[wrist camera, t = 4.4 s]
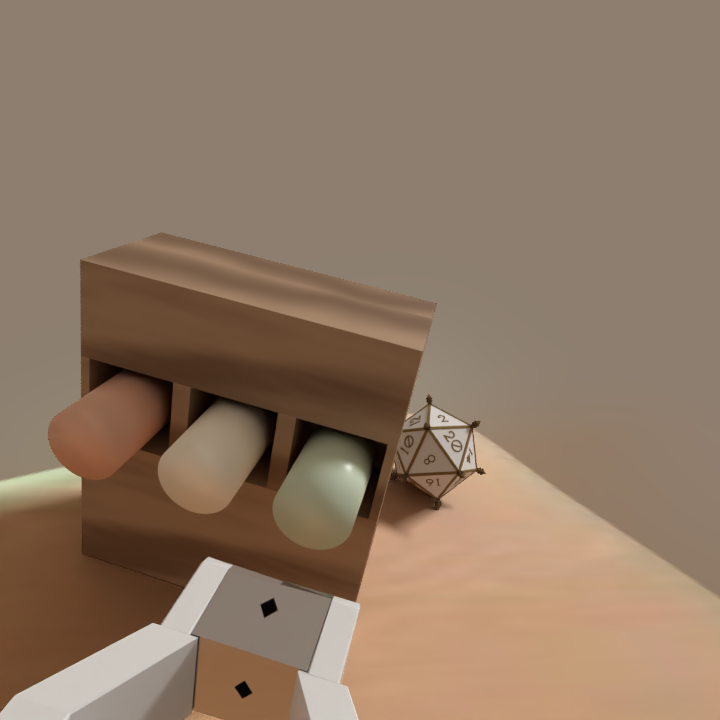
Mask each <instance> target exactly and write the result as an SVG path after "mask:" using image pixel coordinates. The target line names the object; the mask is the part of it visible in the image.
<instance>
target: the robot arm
mask: <svg viewBox="0 0 720 720" xmlns="http://www.w3.org/2000/svg"><path fill="white" fill-rule="evenodd" d="M333 597H334V598H333ZM359 610H360V604H359V603H356V602H353V601H349V600H346V599H343V598H339V597H336V596H333V595H330V594H327V593H323V592H320V591H316V590H313V589H310V588H306V587H303V586H300V585H296V584H293V583H289V582H286V581H280V580H277V579H274V578H271V577H268V576H265V575H262V574H259V573H257V572H254V571H251V570H248V569H245V568H242V567H239V566H236V565H232V564H229V563H226V562H223V561H220V560H217V559H214V558H211V557H208V558H206V559H205V560H204V561H203V562H202V563H201V564H200V566H199V567H198V569H197V570H196V572H195V573H194V575H193V576H192V578H191V579H190V581H189V582H188V584H187V585H186V587H185V588H184V590H183V591H182V593H181V594H180V596H179V597H178V599H177V600H176V602H175V603H174V605H173V606H172V608H171V610H170V611H169V613H168V614H167V616H166V617H165V619H164V620H163V622H162V623H161V625H159V624H155V623H151V624H149V625H147V626H145V627H144V628H142V629H140V630H138V631H136V632H134V633H132V634H130V635H128V636H126V637H125V638H123V639H121V640H119V641H117V642H115V643H113V644H111V645H109V646H107V647H106V648H104V649H102V650H100V651H98V652H96V653H94V654H92V655H90V656H88V657H87V658H85V659H83V660H81V661H79V662H77V663H75V664H73V665H71V666H69V667H68V668H66V669H64V670H62V671H60V672H58V673H56V674H54V675H52V676H50V677H49V678H47V679H45V680H43V681H41V682H39V683H37V684H35V685H33V686H32V687H30V688H28V689H26V690H24V691H22V692H20V693H18V694H16V695H15V696H14V697H13V698H12V699H11V701H10V702H9V703H8V704H7V705H6V707H5V708H4V709H3V710H2V711H1V713H0V720H184V719H185V718H186V717H188V716H189V715H190V714H192V710H194V711H197V712H201V713H204V714H207V715H210V716H214V717H217V718H220V719H223V720H358V717H357V714H356V711H355V708H354V705H353V702H352V699H351V696H350V693H349V689H348V686H345V685H342V684H341V682H342V679H343V675H344V671H345V667H346V662H347V658H348V654H349V650H350V646H351V642H352V638H353V634H354V630H355V626H356V622H357V618H358V614H359Z"/></svg>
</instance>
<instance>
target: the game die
mask: <svg viewBox="0 0 720 720" xmlns="http://www.w3.org/2000/svg"><path fill="white" fill-rule="evenodd" d="M426 399H427V403H428V405H426V406H425V407H424V408H422V409H421V410H420V411H418V412H417V413H415V414H414V415H413V416H411V417H410V418H408V419H407V420H406V421H405V423H404V427H403V431H402V434H401V438H400V442H399V446H398V449H397V453H396V457H395V460H394V462H395V468H396V473H393V474H391V477H390V479H393V480H394V479H395V478H397V477H398V476H399V477H400V481H405V480H406V481H407V482H409V483H411V484H412V485H414V486H415V487H417V488H419V489H420V490H422V491H423V492H425V493H427V494H428V495H430V496H431V497H433V498H434V499H435V500H436V501H435V506H436V507H437V509H438V510H439V508H440V506H441V502H440V498H441V497H443V496H444V495H445V494H447V493H448V492H449V491H451V490H452V489H453V488H454V487H456V486H457V485H458V484H460V483H461V482H462V481H464V480H465V479H466V478H468V477H469V476H470V475H472V474H473V473H474V472H478V473H479V474H480V475H482V474H486V473H485V472H484V470H483V469H481V468H477V463H476V454H475V444H474V435H473V428H476V427H477V426H479V424H480V421H475V422H473V423H472V424H471V425H470V424H468V423H466V422H464V421H462V420H460V419H459V418H457V417H455V416H453V415H451V414H449V413H447V412H445V411H444V410H442V409H440V408H437V407H436V406H434V405H432V398H431V396H430V395H428V397H427V398H426Z"/></svg>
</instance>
